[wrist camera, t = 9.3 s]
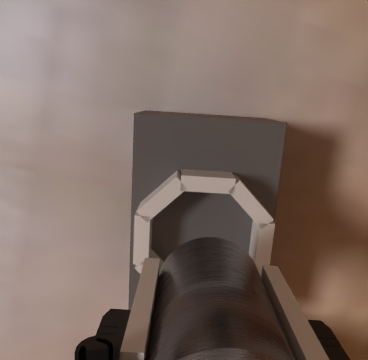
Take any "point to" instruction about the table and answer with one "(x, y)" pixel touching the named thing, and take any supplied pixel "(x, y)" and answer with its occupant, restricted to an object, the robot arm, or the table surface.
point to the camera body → (203, 184)
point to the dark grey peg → (214, 307)
